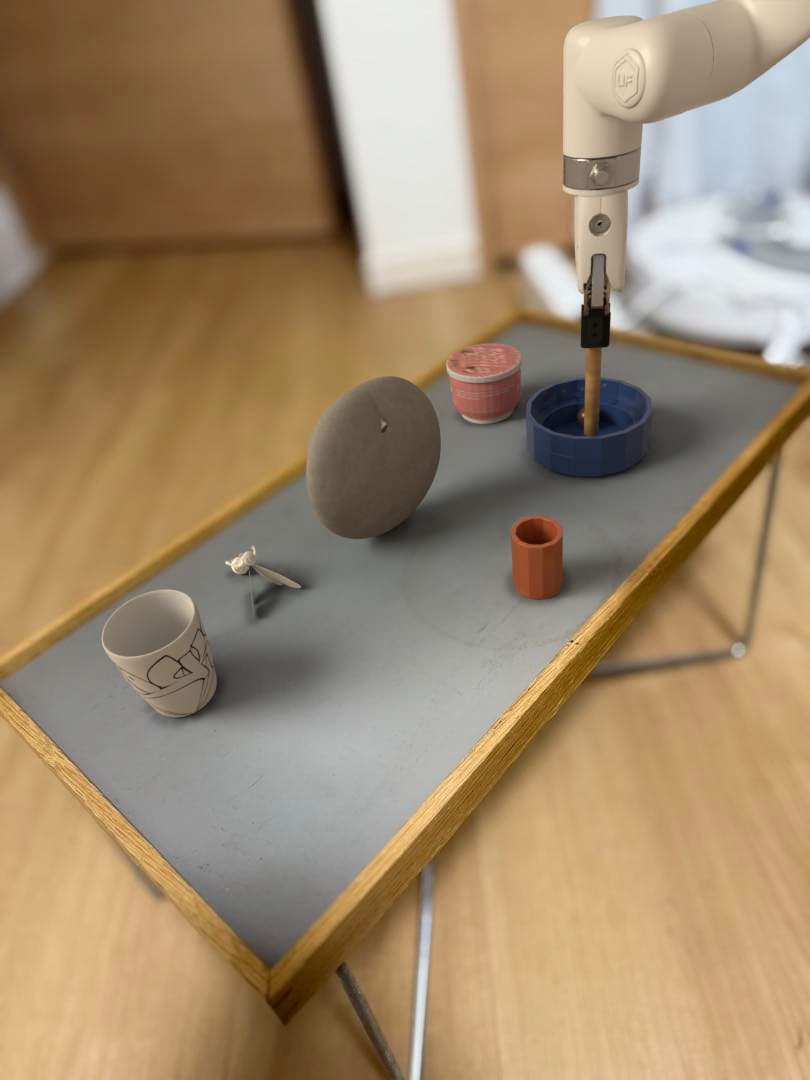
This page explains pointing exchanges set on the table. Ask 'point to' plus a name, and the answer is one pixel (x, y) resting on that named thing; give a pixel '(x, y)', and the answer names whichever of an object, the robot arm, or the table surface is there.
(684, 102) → the robot arm
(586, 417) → the stick
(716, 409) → the table surface
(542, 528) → the holder
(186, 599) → the mug
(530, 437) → the bowl
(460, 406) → the container
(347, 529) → the grey-brown thick disc
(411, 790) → the table surface
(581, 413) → the bead
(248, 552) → the fairy figurine
